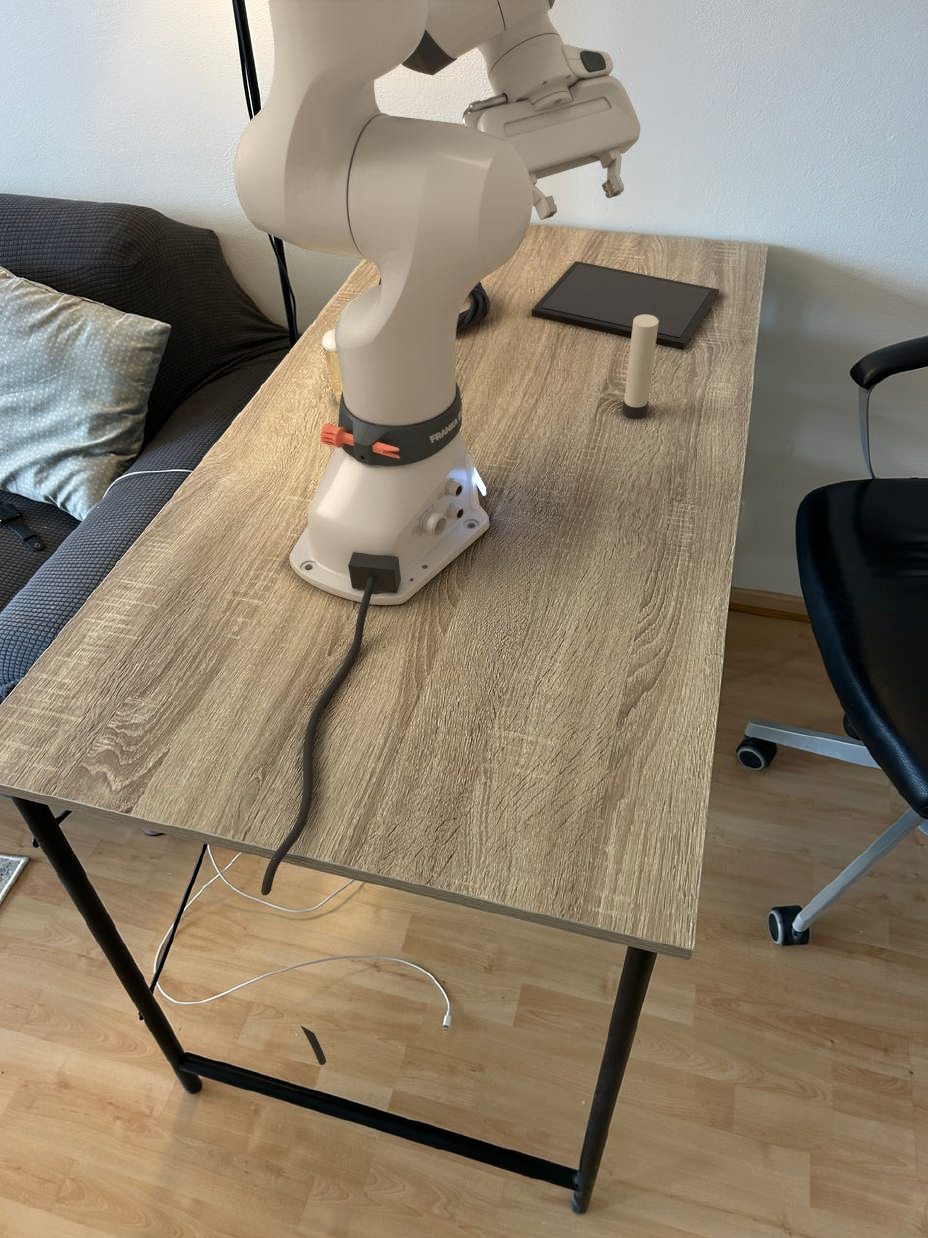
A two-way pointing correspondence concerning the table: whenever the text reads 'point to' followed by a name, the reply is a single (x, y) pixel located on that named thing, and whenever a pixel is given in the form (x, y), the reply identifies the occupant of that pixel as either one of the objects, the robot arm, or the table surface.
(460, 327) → the cable
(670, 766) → the table surface
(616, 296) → the tablet
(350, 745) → the table surface
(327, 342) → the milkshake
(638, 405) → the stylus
